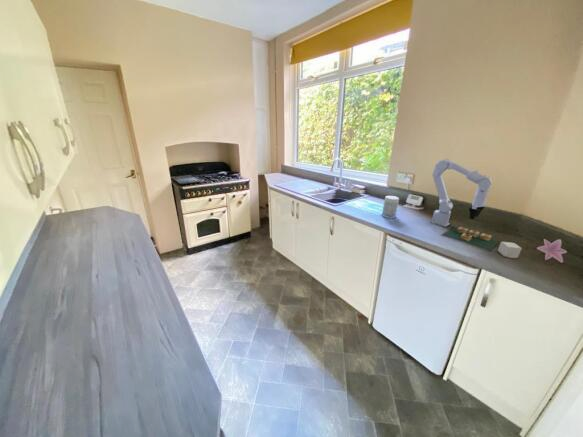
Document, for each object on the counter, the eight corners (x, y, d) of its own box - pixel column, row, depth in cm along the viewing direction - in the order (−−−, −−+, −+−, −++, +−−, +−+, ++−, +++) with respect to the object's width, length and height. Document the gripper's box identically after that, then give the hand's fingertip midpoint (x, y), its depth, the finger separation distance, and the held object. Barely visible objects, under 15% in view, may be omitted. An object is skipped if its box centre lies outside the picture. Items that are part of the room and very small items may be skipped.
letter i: (456, 231, 151) (458, 228, 150) (459, 230, 153) (460, 226, 152) (464, 234, 148) (466, 230, 147) (467, 232, 150) (468, 228, 149)
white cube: (509, 252, 127) (514, 242, 125) (517, 258, 122) (521, 248, 119) (497, 251, 128) (501, 241, 126) (504, 256, 123) (508, 246, 120)
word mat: (441, 235, 145) (441, 235, 145) (453, 228, 157) (453, 227, 157) (489, 251, 128) (489, 250, 128) (498, 241, 140) (499, 240, 140)
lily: (527, 256, 126) (541, 246, 118) (531, 242, 131) (546, 232, 124) (554, 270, 121) (571, 261, 113) (558, 255, 126) (574, 245, 119)
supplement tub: (382, 213, 181) (386, 194, 176) (395, 215, 177) (399, 196, 172) (381, 217, 173) (384, 198, 168) (394, 219, 169) (398, 200, 164)
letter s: (479, 238, 142) (480, 234, 141) (481, 236, 145) (482, 232, 144) (488, 241, 139) (489, 237, 138) (490, 239, 141) (491, 235, 140)
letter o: (460, 238, 141) (461, 234, 140) (462, 236, 144) (464, 233, 143) (468, 241, 138) (470, 237, 137) (471, 239, 141) (472, 235, 140)
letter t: (467, 234, 146) (469, 231, 145) (470, 233, 149) (471, 229, 148) (476, 237, 143) (477, 233, 142) (478, 235, 146) (479, 232, 145)
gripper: (484, 200, 138) (477, 222, 143) (491, 196, 146) (484, 217, 151) (470, 197, 143) (464, 218, 148) (478, 194, 151) (471, 213, 156)
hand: (473, 217), depth 150 cm, fingers open, 7 cm apart
